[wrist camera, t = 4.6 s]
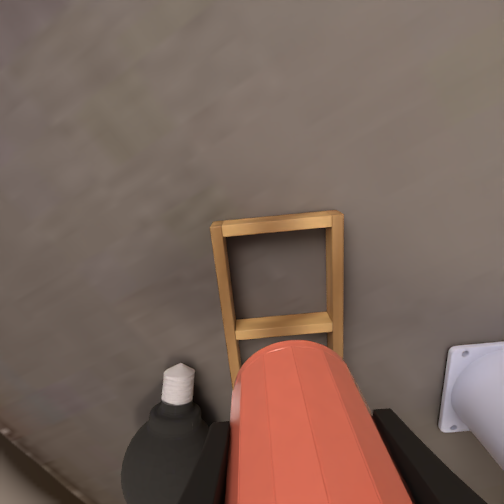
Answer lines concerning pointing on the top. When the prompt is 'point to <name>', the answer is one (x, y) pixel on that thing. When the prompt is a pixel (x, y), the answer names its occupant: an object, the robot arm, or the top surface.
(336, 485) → the cup
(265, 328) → the frame
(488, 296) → the top surface
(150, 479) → the light bulb
